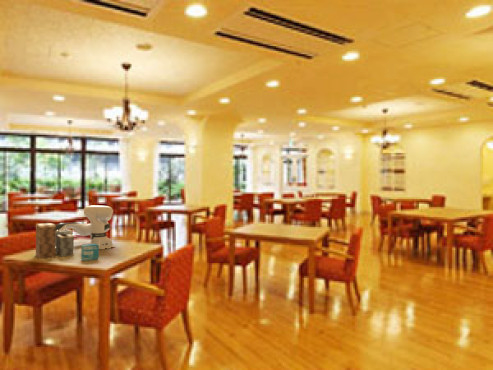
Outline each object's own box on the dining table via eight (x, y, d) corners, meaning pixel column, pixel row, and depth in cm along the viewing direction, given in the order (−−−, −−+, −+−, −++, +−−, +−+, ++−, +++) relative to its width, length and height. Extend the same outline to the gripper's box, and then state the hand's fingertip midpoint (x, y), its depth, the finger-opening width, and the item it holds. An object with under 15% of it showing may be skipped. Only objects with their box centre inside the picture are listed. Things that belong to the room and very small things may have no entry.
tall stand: (50, 254, 304) (51, 223, 304) (54, 256, 294) (55, 224, 294) (35, 255, 297) (36, 223, 296) (39, 258, 287) (40, 225, 287)
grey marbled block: (68, 252, 313) (68, 233, 313) (73, 254, 304) (73, 235, 304) (55, 253, 307) (56, 234, 307) (60, 256, 297) (60, 236, 297)
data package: (82, 261, 283) (82, 245, 283) (81, 260, 287) (81, 244, 286) (98, 259, 290) (99, 244, 290) (96, 258, 294) (97, 243, 294)
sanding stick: (62, 233, 318) (62, 230, 318) (69, 234, 302) (69, 231, 302) (57, 234, 315) (57, 231, 315) (64, 234, 299) (64, 231, 299)
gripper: (70, 238, 326) (75, 233, 317) (45, 241, 313) (49, 234, 304) (69, 232, 329) (74, 226, 320) (44, 234, 315) (48, 227, 306)
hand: (61, 230), depth 311 cm, fingers open, 5 cm apart
